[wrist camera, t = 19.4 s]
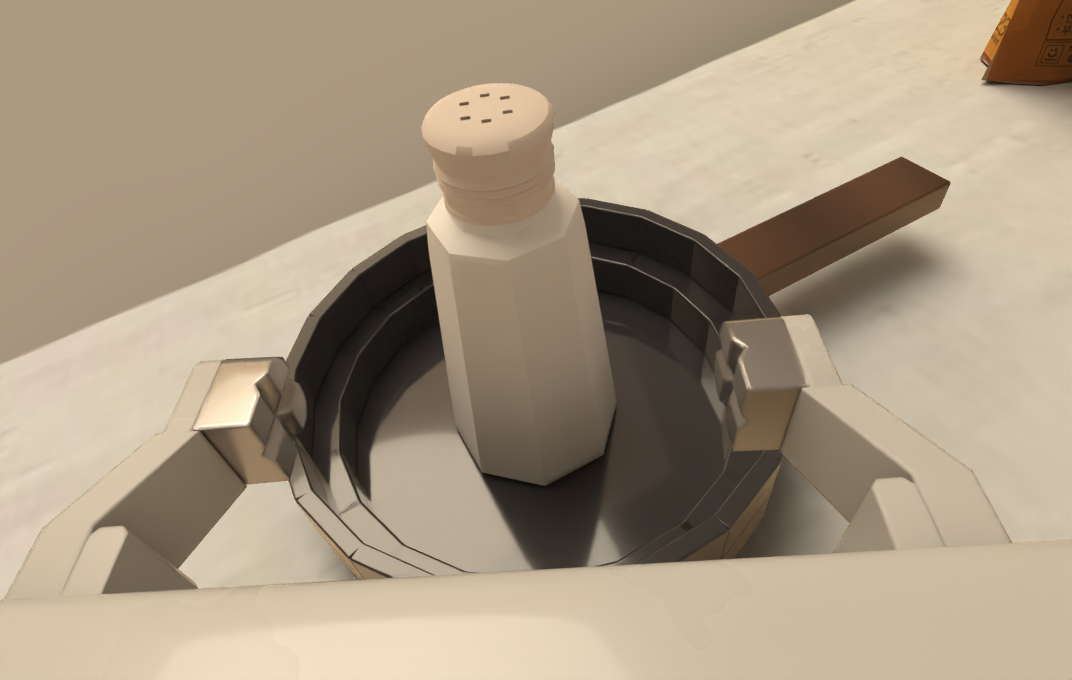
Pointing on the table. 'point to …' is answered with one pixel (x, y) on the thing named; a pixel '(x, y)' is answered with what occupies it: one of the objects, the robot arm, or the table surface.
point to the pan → (512, 505)
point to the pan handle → (836, 223)
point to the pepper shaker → (515, 289)
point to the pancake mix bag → (1031, 44)
